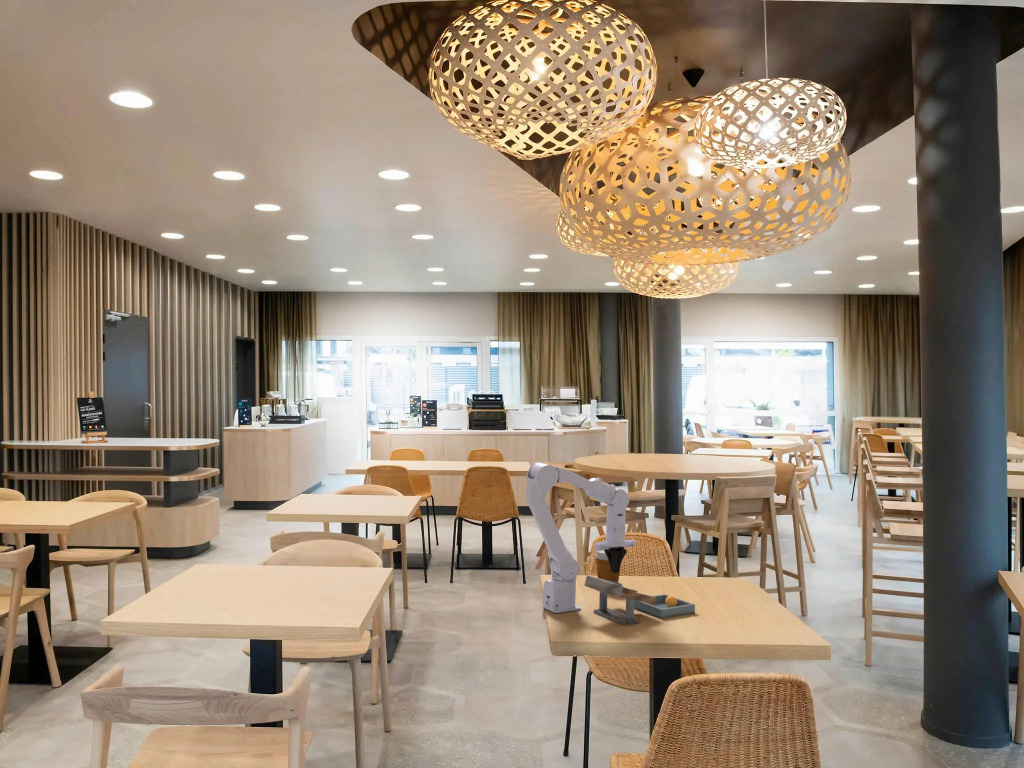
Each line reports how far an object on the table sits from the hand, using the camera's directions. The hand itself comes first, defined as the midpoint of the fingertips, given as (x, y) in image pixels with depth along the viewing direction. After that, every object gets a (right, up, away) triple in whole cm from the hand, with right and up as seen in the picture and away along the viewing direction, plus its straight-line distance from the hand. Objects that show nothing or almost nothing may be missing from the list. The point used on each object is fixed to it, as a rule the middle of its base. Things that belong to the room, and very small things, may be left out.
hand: (614, 572), depth 239 cm
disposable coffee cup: (+1, -10, +21) cm, 24 cm away
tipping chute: (-2, -4, -10) cm, 11 cm away
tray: (+14, -10, -5) cm, 18 cm away
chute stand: (-1, -10, -14) cm, 17 cm away
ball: (+17, -8, -3) cm, 19 cm away
